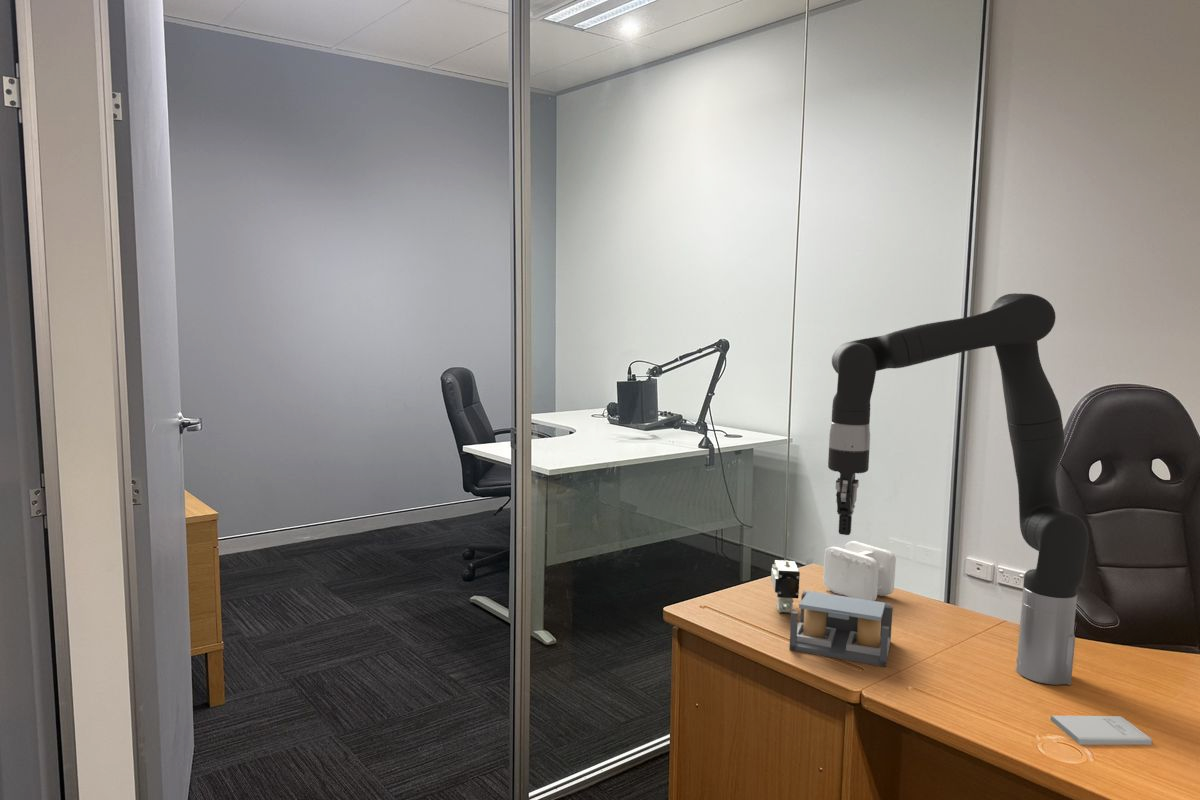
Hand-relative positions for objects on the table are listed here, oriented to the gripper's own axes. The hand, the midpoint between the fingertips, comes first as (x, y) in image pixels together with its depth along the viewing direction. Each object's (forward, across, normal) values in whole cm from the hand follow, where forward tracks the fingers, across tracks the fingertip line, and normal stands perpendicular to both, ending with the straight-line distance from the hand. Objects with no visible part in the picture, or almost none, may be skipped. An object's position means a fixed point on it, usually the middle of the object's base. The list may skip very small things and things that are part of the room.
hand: (844, 533), depth 161 cm
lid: (+19, +9, +1) cm, 21 cm away
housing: (+27, +11, +1) cm, 29 cm away
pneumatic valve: (+27, +26, +16) cm, 41 cm away
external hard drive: (+28, -8, -44) cm, 53 cm away
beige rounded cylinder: (+26, +10, -5) cm, 28 cm away
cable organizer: (+27, +46, 0) cm, 53 cm away
